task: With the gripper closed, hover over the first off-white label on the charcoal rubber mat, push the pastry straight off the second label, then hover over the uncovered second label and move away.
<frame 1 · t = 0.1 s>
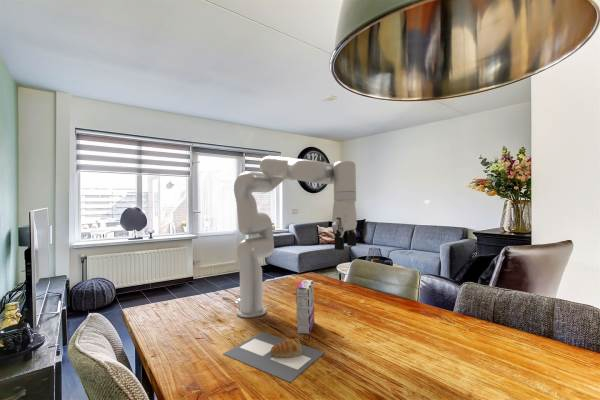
hand: (345, 247, 99), 31 cm above the table, tool pointing down, fingers open, 9 cm apart
label mat: (273, 353, 90), on the table
pastry: (288, 354, 89), resting on label mat
candy bar box: (305, 328, 108), on the table
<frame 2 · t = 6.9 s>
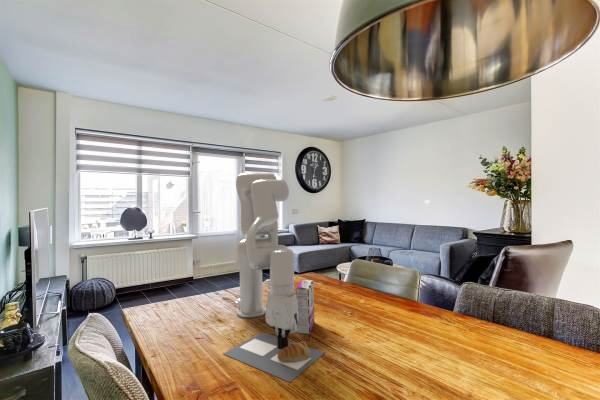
hand: (282, 347, 91), 2 cm above the table, tool pointing down, fingers closed
pastry: (295, 357, 87), resting on label mat
everything else where it was.
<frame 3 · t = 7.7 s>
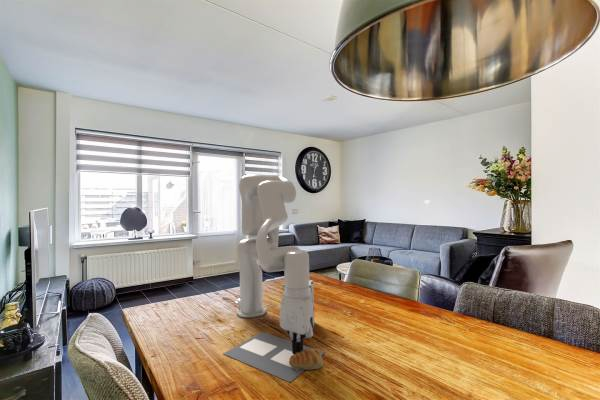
hand: (297, 352, 87), 2 cm above the table, tool pointing down, fingers closed
pastry: (307, 365, 83), on the table, touching gripper
everything else where it was.
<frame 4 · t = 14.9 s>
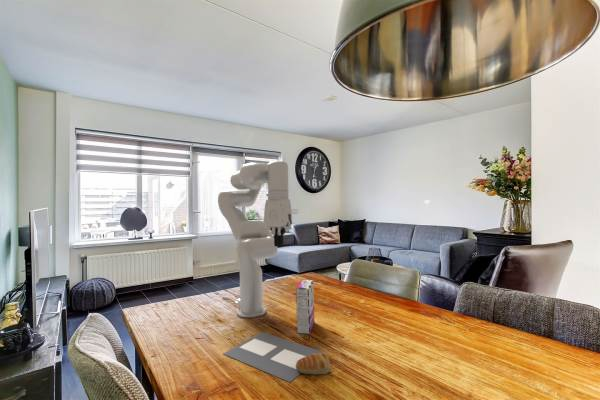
hand: (278, 245, 106), 31 cm above the table, tool pointing down, fingers closed
pastry: (315, 369, 81), on the table, touching label mat
everything else where it was.
at the end: pastry inside the target area (5.1 cm from its centre), on the table; pastry tilted 4°; pastry moved 11.5 cm from its start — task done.
